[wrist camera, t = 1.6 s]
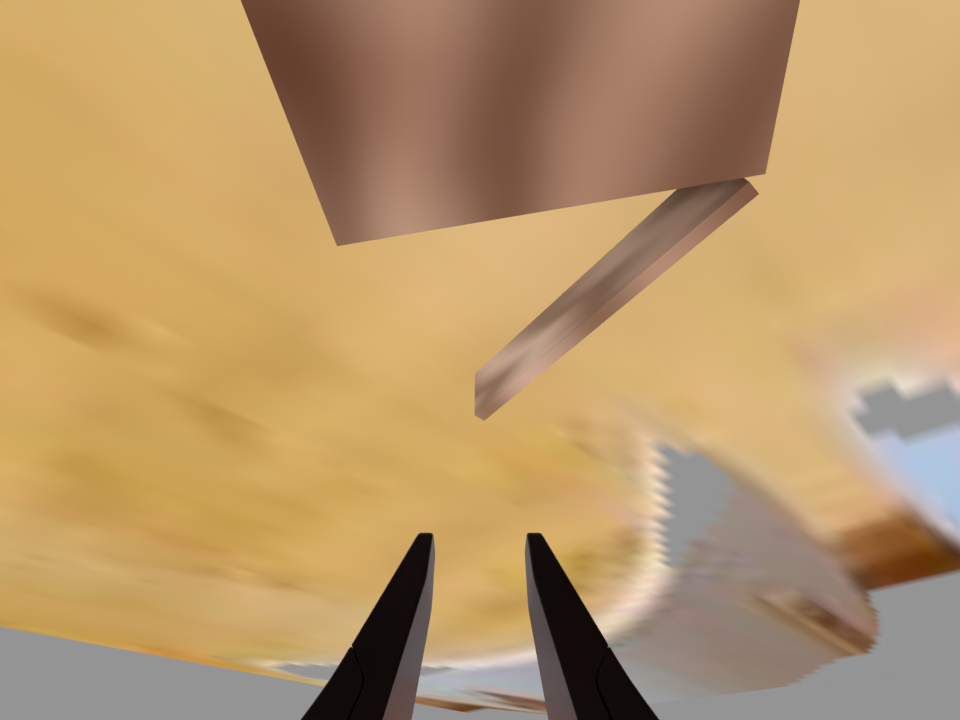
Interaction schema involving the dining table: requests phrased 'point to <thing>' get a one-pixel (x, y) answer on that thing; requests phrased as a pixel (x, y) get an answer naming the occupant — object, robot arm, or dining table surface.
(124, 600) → the dining table surface
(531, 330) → the flap
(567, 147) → the brown piece
